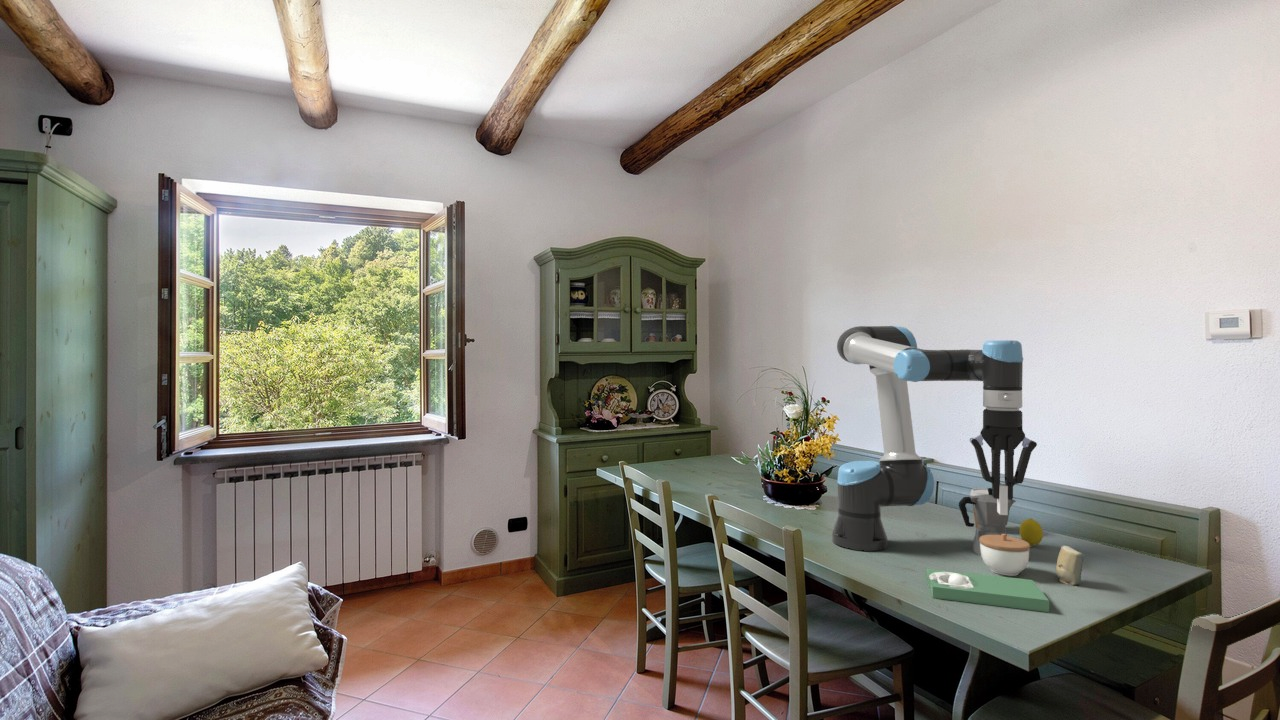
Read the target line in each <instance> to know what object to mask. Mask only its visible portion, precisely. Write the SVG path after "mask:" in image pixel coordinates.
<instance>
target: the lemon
mask: <svg viewBox="0 0 1280 720" xmlns="http://www.w3.org/2000/svg"><path fill="white" fill-rule="evenodd" d="M1018 533H1019V537H1020V539H1022V540H1024V541H1026V542H1028V543H1029V545H1030V547H1033V546H1035V545H1038V544H1039V543H1041V542H1042V540H1043V537H1044V531H1043V528H1042V525H1041V524H1040V523H1039V522H1038V521H1036V519H1035V520H1034V519H1033V518H1031V517H1030V518H1027V519H1025V520H1023V521H1022V522H1021V524H1020V526H1019V532H1018Z"/></svg>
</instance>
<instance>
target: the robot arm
mask: <svg viewBox="0 0 1280 720" xmlns="http://www.w3.org/2000/svg"><path fill="white" fill-rule="evenodd" d="M836 350H837V353H838V355H839V357H841V359H842V360H844V361H845V362H847V363H849V364H852V365H868V366H869V372H870V373H871V374H873V375H874V376H875V380H876V390H877V400H878V409H879V417H880V427H881V428H880V429H881V434H882V435H881V436H882V437H881V438H882V445H883V455H882V457H881V458H879V462H878V461H874V460H855V461H854V460H853V461H849V462H846V463H843V464H841V466H840V467H839V468H838V471H837V478H836V479H837V508H838V509H837V512H838V513H837V517H836V520H835V524H834V526H833V528H832V531H831V532H832V533H831V540H832V543H834V544H835V545H837V546H839V547H841V546H842V548H844V547H845V549H848V548H850V550H853V551H862V550H864V551H863V552H871V551H873V552H875V551H876V552H877V551H882V550H885V549H886V548H887V547H888V536H887V534H886V533H887V532H886V531H885V527H884V524H883V521H882V517H881V509H882V508H881V507H905V506H906V507H914V506H919V505H920V506H921V505H924V504H926V503H927V502H929V500H930V499H931V497H932V496H933V493H934V490H935V478H934V475H933V473H932V472H931V471H932V470H931V469H930V467H928V466H927V465H926V464H924V463H923V458H922V457H920V456H919V454H917V453H916V445H915V436H914V427H913V420H912V412H911V411H912V410H911V404H910V395H909V388H908V382H913V383H918V382H939V381H940V382H945V381H946V382H964V381H966V382H971V381H972V382H982V389H983V390H982V406H983V407H984V408H985V409H983V411H982V428H981V430H980V434H979V435H977V436H975V437H971V438H969V442H970V443H971V445H972V447H973V448H974V451H975V454H976V457H977V462H978V464H979V469H980V473H981V476H982V479H983V480H984V481H986V482H988V483H991V488H992V496H993V498H994V499H997V512H998V513H999V514H1000V515H1008V500H1012V499H1013V498H1014V486H1015V485H1018V484H1020V485H1021V484H1023V482H1024V480H1025V476H1026V473H1027V470H1028V467H1029V461H1030V458H1031V455H1032V452H1033V451H1034V449H1035V448H1036V447H1037V445H1038V443H1037V442H1036V441H1034V440H1032V439H1029V438H1028V437H1026V433H1025V432H1024V431H1023V411H1022V410H1020V409H1022V408H1023V367H1024V366H1023V364H1024V363H1023V362H1024V357H1023V346H1022V343H1021V342H1020V341H1018V340H1010V339H1009V340H1008V339H1007V340H986V341H984V342H983V344H982V349H923V348H922V349H921V348H918V343H917V340H916V337H915V336H914V334H913V332H912V331H910V330H909V329H908V328H907V327H904V326H897V325H896V326H895V325H885V326H884V325H883V326H882V325H880V326H879V325H878V326H877V325H876V326H872V325H871V326H869V325H868V326H866V325H861V326H859V325H858V326H854V327H851V328H850V327H849V329H847V330H845V331H844V332H843V333H841V335H840V336H839V337H838V340H837V342H836ZM983 440H984V442H985V443H986V444H987V445H988V446H989V447H990V453H991V474H990V470H989V467H988V463H987V459H986V456H985V453H984V449H983V445H984V442H983ZM1020 444H1021V446H1022V449H1021V452H1020V456H1019V459H1018V462H1017V465H1016V468H1015V472H1014V467H1015V466H1014V459H1015V458H1014V455H1015V450H1016V448H1018V446H1019V445H1020ZM1002 451H1003V452H1004V453H1003V454H1004V483H1003V482H1002V483H1001V454H1002ZM1013 500H1014V499H1013Z"/></svg>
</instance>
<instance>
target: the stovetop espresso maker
mask: <svg viewBox="0 0 1280 720" xmlns="http://www.w3.org/2000/svg"><path fill="white" fill-rule="evenodd" d="M987 494H989V493H988V488H985V487H977V488H971V490H970V493H969V495H970V497H972V496H978V495H987ZM972 508H973V510H972V511H973V517H974V526H975V529H976V528H977V521H976V517H975V511H974V505H973V504H972Z"/></svg>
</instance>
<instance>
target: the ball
mask: <svg viewBox="0 0 1280 720" xmlns="http://www.w3.org/2000/svg"><path fill="white" fill-rule="evenodd" d="M948 583H949V584H954V585H966V584H968V581H967V579H966V578H965V577H964V576H963V575H961V574H952V575H951V576H950V577H949V579H948Z"/></svg>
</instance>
